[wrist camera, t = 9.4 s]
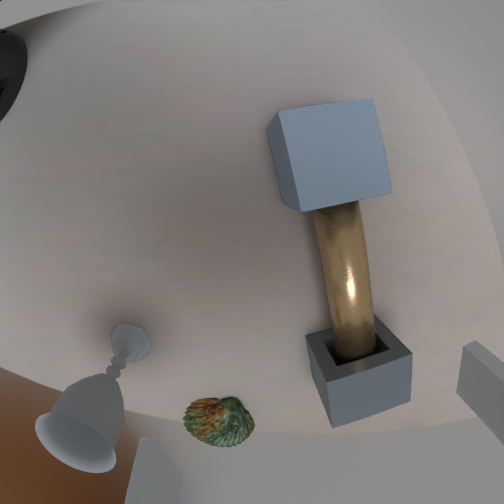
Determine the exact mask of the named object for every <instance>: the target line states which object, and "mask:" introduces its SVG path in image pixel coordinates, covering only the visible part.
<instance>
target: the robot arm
mask: <svg viewBox="0 0 504 504" xmlns="http://www.w3.org/2000/svg"><path fill="white" fill-rule="evenodd" d="M0 1H1V0H0ZM26 62H27V53H26V47H25V44H24V42H23V40H22V39H21V38H20V37H19V36H17V35H16V34H14V33H12V32H10V31H8V30H3V29H0V120H1V119H2V118H3V117H4V115H5V114H6V113H7V111H8V110H9V108H10V107H11V105H12V103H13V101H14V100H15V98H16V96H17V94H18V91H19V89H20V86H21V84H22V81H23V78H24V74H25V69H26ZM456 393H457V394H458V395H459V396H460V397H461V398H462V399H463V400H464V401H465V402H466V403H467V405H468V406H469V407H470V408H471V409H472V410H473V411H474V412H475V413H476V414H477V415H478V417H479V418H480V419H481V420H482V421H483V422H484V423H485V424H486V425H487V426H488V428H489V429H490V430H491V431H492V432H493V433H494V434H495V436H496V437H497V438H498V439H499V440H500V441H501V442H502V443H503V445H504V362H502V361H501V360H500V359H499V358H497V357H496V356H495V355H494V354H492V353H491V352H490V351H489V350H487V349H486V348H485V347H483V346H482V345H481V344H480V343H478V342H477V341H476V340H475V341H473V342H471V343H469V344H467V345H465V346H463V351H462V359H461V366H460V373H459V379H458V385H457V390H456ZM181 483H182V473H181V471H180V470H179V469H178V467H177V466H176V465H175V463H174V461H173V460H172V459H171V457H170V456H169V454H168V453H167V451H166V450H165V448H164V447H163V445H162V444H161V442H160V440H159V439H158V437H148V438H140V441H139V445H138V449H137V453H136V457H135V461H134V465H133V469H132V473H131V477H130V482H129V486H128V490H127V494H126V499H125V503H124V504H180V495H181Z"/></svg>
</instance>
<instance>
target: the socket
mask: <svg viewBox="0 0 504 504" xmlns="http://www.w3.org/2000/svg"><path fill="white" fill-rule="evenodd" d="M374 326H375V341H376V354H375V355H372V356H369V357H366V358H363V359H360V360H357V361H354V362H350V363H347V364H344V365H341V366H337V359H336V351H335V344H334V336H333V329H328V330H325V331H321V332H318V333H314V334H310V335H306V336H305V337H306V342H307V348H308V353H309V359H310V365H311V370H312V376H313V380H314V382H315V385H316V387H317V390H318V393H319V395H320V398H321V400H322V403H323V405H324V408H325V410H326V413H327V415H328V418H329V421H330V423H331V426H332V428H335V427H338V426H342V425H345V424H348V423H351V422H354V421H357V420H360V419H363V418H366V417H369V416H372V415H375V414H377V413H380V412H383V411H386V410H388V409H391V408H393V407H396V406H398V405H401V404H403V403H406V402H408V401H410V397H411V381H412V354H413V353H412V352H411V351H410V350H409V349H408V348H407V347H406V346H405V345H404V344H403V343H402V342H401V341H400V340H399V339H398V338H397V337H396V336H395V335H394V334H393V333H392V332H391V331H390V330H389V329H388V328H387V327H386V326H385V325H384V324H383V323H382V322H381V321H380V320H379V319H378V318H377V317H376V316H374Z"/></svg>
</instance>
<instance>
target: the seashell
mask: <svg viewBox="0 0 504 504" xmlns="http://www.w3.org/2000/svg"><path fill="white" fill-rule="evenodd" d="M186 409H187V411H186V412H185V414H186V416H185V417H184V418H183V420H184V421H185V422H184V426H185V427H186V429H187V431H188V432H191V434H192V435H193V436H194V437H196V438H197V439H198V440H200V441H203V442H205V443H207V444H209V445H212V446H217V447H232V446H236V445H237V444H240V443H241V442H242V441H244V440H245V439H247V438H248V437H249V436H250V434H251V432H252V431H253V429H254V426H255V424H254V421H253V419H252V417H251V416H250V413H249V412H248V411H247V410H245V409H244V408H243V407H242V405H241V404H240V402H239V400H238V399H236V398H229V399H223V400H218V399H217V398H205V399H199V400H196V401H194V402H192V403H191V406H190V407H188V408H186Z"/></svg>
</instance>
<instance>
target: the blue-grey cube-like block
mask: <svg viewBox="0 0 504 504" xmlns="http://www.w3.org/2000/svg"><path fill="white" fill-rule="evenodd" d="M266 131H267V135H268V139H269V143H270V148H271V152H272V156H273V160H274V165H275V169H276V173H277V178H278V182H279V186H280V191H281V195H282V200H283V204H284V205H286V206H288V207H291V208H293V209H295V210H297V211H299V212H301V213H302V212H306V211H311V210H315V209H320V208H324V207H329V206H333V205H338V204H343V203H347V202H352V201H356V200H361V199H366V198H371V197H375V196H380V195H385V194H390V193H392V187H391V181H390V176H389V170H388V165H387V160H386V155H385V150H384V146H383V141H382V137H381V132H380V128H379V124H378V120H377V116H376V112H375V108H374V104H373V100H372V99H363V100H353V101H344V102H335V103H327V104H320V105H313V106H306V107H300V108H293V109H288V110H282V111H278V112H277V114H276V115H275V117H274V118H273V120H272V121H271V123H270V124H269V126H268V127H267V129H266Z"/></svg>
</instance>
